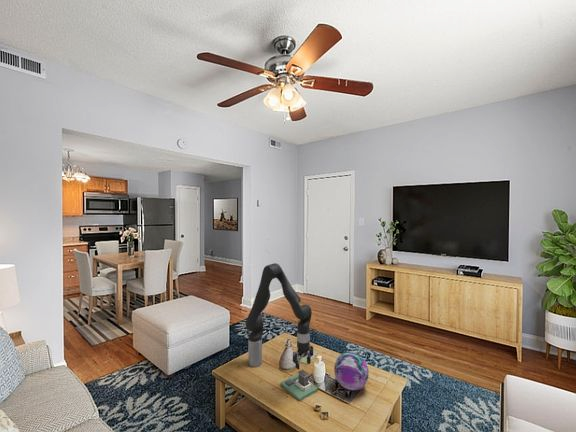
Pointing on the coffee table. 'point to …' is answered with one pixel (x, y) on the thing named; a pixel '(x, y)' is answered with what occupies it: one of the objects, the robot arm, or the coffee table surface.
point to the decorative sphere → (351, 371)
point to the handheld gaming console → (304, 359)
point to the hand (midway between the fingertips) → (303, 366)
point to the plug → (303, 378)
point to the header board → (298, 387)
